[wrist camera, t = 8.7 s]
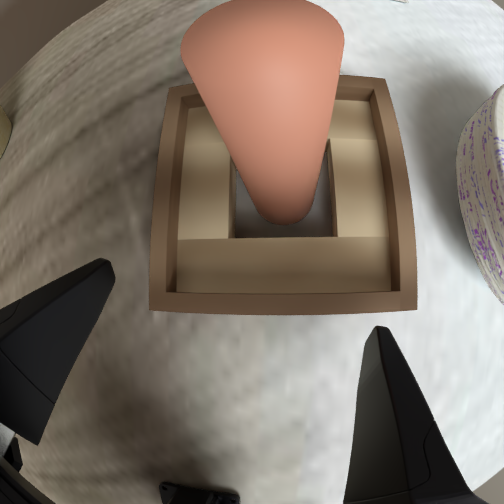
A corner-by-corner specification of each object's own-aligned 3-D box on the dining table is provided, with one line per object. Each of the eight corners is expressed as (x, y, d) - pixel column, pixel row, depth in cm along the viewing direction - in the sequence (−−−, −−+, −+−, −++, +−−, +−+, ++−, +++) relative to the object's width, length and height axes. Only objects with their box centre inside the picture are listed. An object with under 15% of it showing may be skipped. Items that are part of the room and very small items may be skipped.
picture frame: (394, 305, 16) (417, 309, 13) (174, 306, 18) (149, 310, 15) (373, 107, 18) (384, 78, 14) (185, 114, 20) (169, 87, 16)
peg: (289, 237, 18) (280, 119, 5) (241, 201, 18) (150, 58, 5) (325, 190, 18) (370, 27, 5) (277, 157, 18) (248, -15, 5)
